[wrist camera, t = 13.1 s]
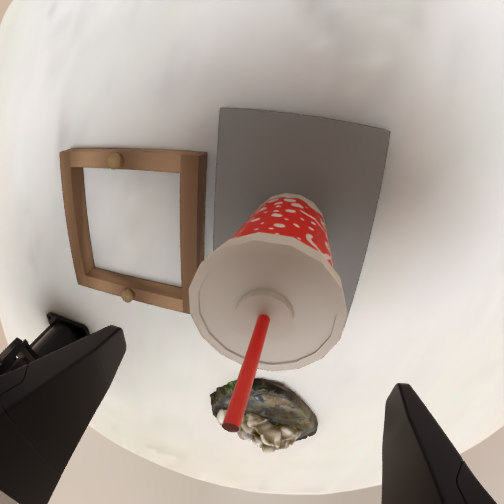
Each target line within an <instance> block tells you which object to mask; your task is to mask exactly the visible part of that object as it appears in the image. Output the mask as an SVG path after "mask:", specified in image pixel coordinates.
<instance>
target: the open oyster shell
mask: <svg viewBox="0 0 504 504" xmlns="http://www.w3.org/2000/svg"><path fill="white" fill-rule="evenodd" d="M236 382H237V380H235V381H231V382H228V384H227V385H224V386H223V387H218V388H217V390H216V392H214V393H212V394H210V397H211V405H212V411H213V415H214V416H215V417H216V418H217V420H218V422H219V423H220V425H222V423H223V420H224V417H225V414H226V412H227V409H228V406H229V403H230V400H231V397H232V394H233V391H234V388H235V385H236ZM317 426H318V422H317V419H316V416H315V415H314V413H313V412H312V411H311V410H310V408H309V407H308V406H307V405H306V404H305V403H304V402H303V401H302V400H301V399H300V398H299V397H298V396H297V395H296V394H295V393H294V392H292V391H291V390H289V389H287V388H285V387H284V386H281V385H278V384H276V383H273V382H270V381H267V380H265V379H254V381H253V385H252V388H251V392H250V395H249V399H248V402H247V406H246V409H245V413H244V416H243V419H242V423H241V426H240V430H239V431H238V432H237V434H238V436H239V437H240V438H241V439H244V440H252V442H253V443H254V444H255V445H257V446H259V447H260V448H262V450H263V452H265V453H271V452H274V451H275V450H279V449H286V448H288V447H289V445H292V444H293V442H295V441H297V440H301V439H306V438H307V436H312V435H314V434H315V433H316V431H317ZM228 432H230V431H228Z"/></svg>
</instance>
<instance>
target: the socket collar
mask: <svg viewBox="0 0 504 504" xmlns="http://www.w3.org/2000/svg"><path fill="white" fill-rule="evenodd" d="M206 164H207V152H195V151H179V150H160V149H130V148H75V149H68V150H65V151H62V152H60V168H61V180H62V191H63V200H64V208H65V216H66V223H67V229H68V235H69V241H70V247H71V253H72V258H73V263H74V268H75V273H76V277H77V282H78V284H79V285H83V286H86V287H89V288H93V289H96V290H99V291H103V292H106V293H110V294H113V295H117V296H121V297H122V299H123V300H124V301H125V302H131V301H132V300H135V301H139V302H143V303H147V304H151V305H155V306H158V307H162V308H167V309H171V310H175V311H179V312H183V313H187V314H190V305H189V287H190V285H191V282H192V280H193V278H194V276H195V274H196V271H197V269H198V267H199V265H200V264H201V262H202V261H204V223H205V189H206ZM83 167H87V168H111V169H130V170H145V171H159V172H171V173H180V249H181V280H182V288H179V287H175V286H170V285H166V284H161V283H157V282H152V281H148V280H144V279H139V278H135V277H131V276H127V275H122V274H118V273H114V272H110V271H106V270H102V269H98V268H95V267H94V261H93V255H92V249H91V243H90V236H89V228H88V220H87V212H86V202H85V192H84V179H83Z"/></svg>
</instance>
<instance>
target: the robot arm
mask: <svg viewBox="0 0 504 504" xmlns="http://www.w3.org/2000/svg"><path fill="white" fill-rule="evenodd" d="M47 318H48V321H49V324H50V326H49V327H48V328H46V329H45V330H44V331H43V332H42V333H41V334H40V335H39V336H38V337H37V338H36V339H35V340H34V342H33V343H32V344H31V345H29V344H28V342H27V340H26V339H25V340H23V341H22V340H20V339H19V338H16V339H15V340H14V341H13V342H12V343H11V344H10V345H9V346H8V347H7V348H6V349H5V350H4V351H3V352H2V353H1V354H0V504H17V503H19V504H47V503H48V502H49V500H50V497H51V495H52V493H53V491H54V489H55V487H56V485H57V483H58V481H59V479H60V477H61V475H62V473H63V471H64V469H65V467H66V465H67V464H68V461H69V460H70V458H71V456H72V454H73V452H74V450H75V448H76V446H77V445H78V443H79V441H80V439H81V437H82V435H83V434H84V432H85V430H86V428H87V426H88V424H89V423H90V421H91V419H92V417H93V415H94V414H95V412H96V410H97V408H98V407H99V405H100V403H101V401H102V399H103V398H104V396H105V394H106V393H107V391H108V389H109V387H110V385H111V383H112V381H113V378H114V376H115V374H116V372H117V369H118V367H119V365H120V363H121V360H122V358H123V356H124V354H125V351H126V342H125V338H124V333H123V330H122V329H121V328H120V327H117V326H114V325H110V326H107V327H105V328H103V329H101V330H99V331H97V332H95V333H93V334H90V335H89V332H88V330H87V328H86V327H85V326H83V325H81V324H78V323H75V322H73V321H70V320H68V319H65V318H63V317H60V316H58V315H55V314H53V313H51V312H49V313H48V314H47ZM16 356H17V357H18V358H16ZM462 460H463V459H462V457H461V456H460V454H459V453H458V451H457V450H456V448H455V447H454V446H453V444H452V443H451V441H450V440H449V438H448V437H447V436H446V434H445V433H444V431H443V430H442V428H441V427H440V426H439V424H438V423H437V421H436V420H435V419H434V417H433V416H432V414H431V413H430V412H429V410H428V409H427V407H426V406H425V405H424V403H423V402H422V401H421V399H420V398H419V397H418V395H417V394H416V392H415V391H414V390H413V388H412V387H411V386H410V385H409V384H406V383H397V384H396V385H395V387H394V388H393V390H392V392H391V393H390V395H389V397H388V398H387V401H386V406H385V421H384V432H383V444H382V504H497V503H496V502H495V501H494V500H493V498H492V497H491V496H490V495H489V494H488V492H487V491H486V490H485V489H484V488H483V486H482V485H481V484H480V483H479V481H478V480H477V479H476V477H475V476H474V475H473V473H472V472H471V470H470V469H469V468H468V466H467V464H466V463H465V461H462Z"/></svg>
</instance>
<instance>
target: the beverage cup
mask: <svg viewBox="0 0 504 504" xmlns="http://www.w3.org/2000/svg"><path fill="white" fill-rule="evenodd" d="M189 305H190V314H191V316H192V318H193V320H194V322H195V324H196V326H197V328H198V330H199V332H200V334H201V336H202V337H203V338H204V339H205V340H206V341H207V342H208V343H209V344H210V345H212V346H213V347H214V348H215V349H216V350H217V351H218V352H219V353H220V354H221V355H223V356H225V357H227V358H229V359H231V360H233V361H235V362H237V363H239V364H241V365H242V367H241V370H240V373H239V376H238V379H237V382H236V385H235V388H234V391H233V394H232V397H231V400H230V403H229V406H228V409H227V412H226V414H225V417H224V420H223V423H222V427H223V428H224V429H225V430H227V431H230V432H238V431H239V430H240V426H241V423H242V419H243V416H244V413H245V409H246V406H247V402H248V399H249V395H250V392H251V388H252V385H253V381H254V378H255V374H256V371H257V369H262V370H267V371H281V370H291V369H299V368H302V367H304V366H306V365H308V364H310V363H313V362H315V361H317V360H319V359H321V358H323V357H324V356H325V355H326V354H327V353H328V352H329V351H330V350H331V349H332V348H333V347H334V345H335V344H336V343H337V342H338V341H339V340H340V338H341V335H342V331H343V328H344V325H345V322H346V318H347V308H346V302H345V297H344V293H343V288H342V283H341V279H340V276H339V275H338V274H337V272H336V271H335V270H334V267H333V261H332V256H331V250H330V245H329V240H328V235H327V229H326V225H325V221H324V217H323V214H322V212H321V211H320V210H319V209H318V207H317V206H316V205H315V203H314V202H312V201H310V200H309V199H307V198H305V197H303V196H302V195H297V194H290V193H284V194H280V195H276V196H272V197H271V198H269V199H268V200H267V201H265V202H264V203H263V204H261V205H260V206H259V208H258V209H257V210H256V211H255V212H254V213H253V214H252V215H251V217H250V218H249V219H248V220H247V221H246V222H245V223H244V224H243V226H242V227H241V228H240V229H239V230H238V231H237V232H236V233H235V235H234V236H233V237H232V238H231V239H229V240H227V241H226V242H225V243H223V244H222V245H221V246H220V247H218V248H217V249H216V250H214V251H213V252H212V253H211V254H209V255H208V256H207V257H206V259H205V260H204V261H202V262H201V264H200V265H199V267H198V269H197V271H196V274H195V276H194V278H193V280H192V282H191V285H190V287H189Z"/></svg>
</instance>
